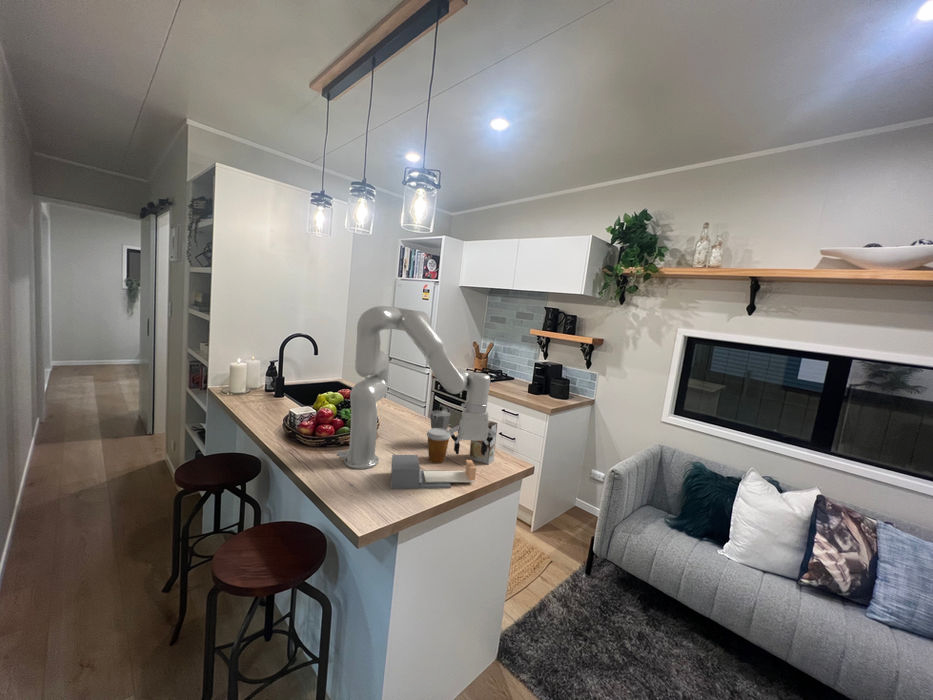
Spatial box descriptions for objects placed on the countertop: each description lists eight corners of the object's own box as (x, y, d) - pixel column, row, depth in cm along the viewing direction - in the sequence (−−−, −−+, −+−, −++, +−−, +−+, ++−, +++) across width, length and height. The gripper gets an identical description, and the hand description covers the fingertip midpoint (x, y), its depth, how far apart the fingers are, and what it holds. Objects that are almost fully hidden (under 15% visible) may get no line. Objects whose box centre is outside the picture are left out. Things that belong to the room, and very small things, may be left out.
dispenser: (391, 488, 123) (392, 469, 123) (391, 472, 135) (392, 454, 134) (450, 488, 128) (452, 469, 127) (445, 472, 139) (447, 455, 139)
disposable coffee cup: (444, 466, 144) (447, 437, 143) (421, 462, 146) (423, 433, 144) (450, 457, 153) (453, 429, 152) (428, 454, 155) (431, 426, 154)
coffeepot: (441, 453, 157) (444, 412, 155) (421, 448, 160) (424, 408, 158) (455, 442, 171) (458, 404, 169) (437, 438, 175) (440, 400, 173)
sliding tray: (425, 482, 128) (426, 468, 127) (423, 472, 135) (424, 459, 135) (474, 482, 131) (476, 468, 131) (470, 471, 139) (471, 459, 139)
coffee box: (494, 459, 155) (498, 422, 153) (488, 464, 150) (492, 426, 148) (475, 454, 159) (478, 417, 158) (468, 458, 154) (471, 421, 152)
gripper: (453, 409, 127) (447, 456, 129) (502, 412, 130) (495, 458, 132) (450, 403, 134) (444, 448, 136) (496, 406, 138) (489, 450, 140)
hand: (469, 453), depth 134 cm, fingers open, 9 cm apart
